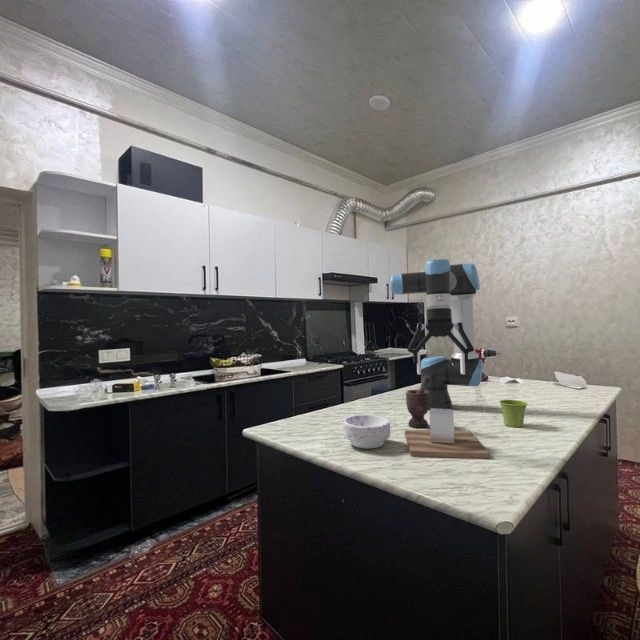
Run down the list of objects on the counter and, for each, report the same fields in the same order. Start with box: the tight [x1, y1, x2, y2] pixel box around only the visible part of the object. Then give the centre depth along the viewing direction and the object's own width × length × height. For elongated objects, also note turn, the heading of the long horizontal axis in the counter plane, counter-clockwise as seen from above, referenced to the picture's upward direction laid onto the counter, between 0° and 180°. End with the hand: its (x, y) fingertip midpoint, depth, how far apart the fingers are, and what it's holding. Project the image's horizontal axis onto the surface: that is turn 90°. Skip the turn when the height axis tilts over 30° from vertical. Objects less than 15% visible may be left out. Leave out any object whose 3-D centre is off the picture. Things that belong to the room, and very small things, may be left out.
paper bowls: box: [342, 414, 391, 450], centre depth 121 cm, size 15×15×8 cm
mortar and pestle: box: [405, 375, 431, 429], centre depth 139 cm, size 12×9×20 cm
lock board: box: [404, 429, 490, 460], centre depth 118 cm, size 22×22×2 cm
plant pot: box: [499, 399, 528, 428], centre depth 138 cm, size 9×9×9 cm
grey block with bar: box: [429, 408, 455, 444], centre depth 120 cm, size 11×7×9 cm, turn 161°
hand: (440, 374), depth 118 cm, fingers open, 13 cm apart
